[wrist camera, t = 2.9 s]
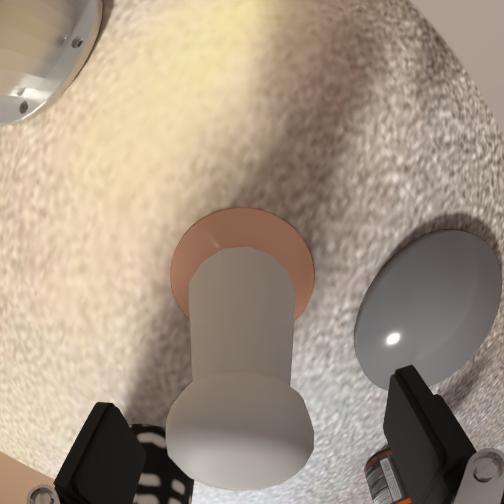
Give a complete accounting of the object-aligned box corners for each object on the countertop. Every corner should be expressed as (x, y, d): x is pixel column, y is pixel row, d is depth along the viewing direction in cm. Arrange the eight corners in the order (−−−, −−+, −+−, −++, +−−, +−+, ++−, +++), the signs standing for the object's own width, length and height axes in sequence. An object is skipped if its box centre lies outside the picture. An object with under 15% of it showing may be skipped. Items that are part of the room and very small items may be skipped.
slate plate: (350, 246, 18) (355, 251, 17) (502, 218, 18) (510, 221, 17) (352, 402, 23) (355, 409, 22) (479, 357, 22) (484, 363, 21)
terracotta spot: (155, 222, 18) (154, 223, 18) (304, 195, 18) (305, 196, 17) (191, 346, 21) (190, 348, 20) (318, 326, 20) (319, 329, 20)
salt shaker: (202, 324, 20) (164, 505, 7) (188, 241, 18) (95, 400, 6) (291, 316, 20) (335, 498, 7) (286, 231, 18) (361, 389, 6)
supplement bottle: (418, 446, 26) (450, 516, 16) (384, 473, 28) (407, 541, 17) (388, 441, 25) (420, 523, 15) (352, 470, 27) (373, 548, 16)
